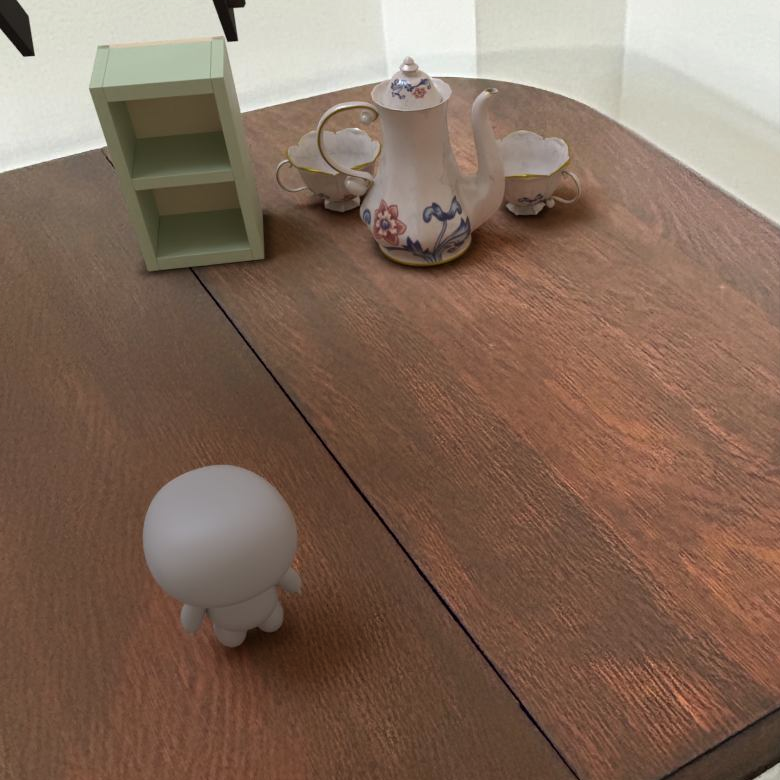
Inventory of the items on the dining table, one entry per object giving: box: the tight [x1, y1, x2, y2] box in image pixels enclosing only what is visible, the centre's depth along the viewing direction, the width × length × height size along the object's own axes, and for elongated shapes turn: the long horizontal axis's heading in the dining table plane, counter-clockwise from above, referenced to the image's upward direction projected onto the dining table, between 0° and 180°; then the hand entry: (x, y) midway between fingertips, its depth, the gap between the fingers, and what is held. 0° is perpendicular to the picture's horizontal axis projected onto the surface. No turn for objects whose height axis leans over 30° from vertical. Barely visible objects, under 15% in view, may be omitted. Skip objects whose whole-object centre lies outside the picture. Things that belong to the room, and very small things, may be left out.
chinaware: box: [275, 56, 582, 267], centre depth 89 cm, size 28×17×17 cm, turn 93°
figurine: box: [142, 464, 302, 648], centre depth 58 cm, size 8×8×12 cm
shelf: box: [88, 35, 265, 272], centre depth 86 cm, size 16×10×8 cm
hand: (129, 29), depth 71 cm, fingers open, 13 cm apart
